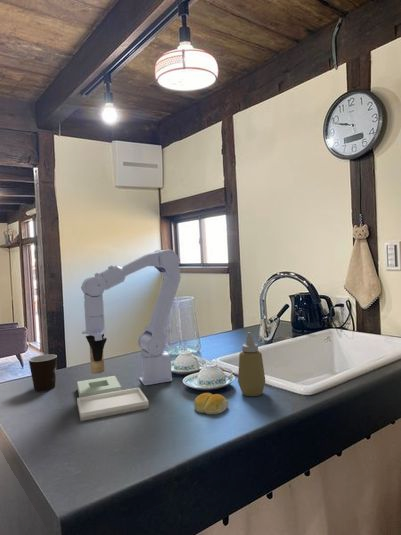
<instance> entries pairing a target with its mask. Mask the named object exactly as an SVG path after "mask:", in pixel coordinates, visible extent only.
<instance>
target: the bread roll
mask: <svg viewBox="0 0 401 535" xmlns="http://www.w3.org/2000/svg"><path fill="white" fill-rule="evenodd" d="M193 406H194V409H195V411H197V412H198V413H203V414H207V415H218V414H221V413H223V412H224V411H226V410H227V409H228V407H229V402H228V400H227V398H226V397H225V396H223V395H221V394H219V393H215V394H213V393H211V392H203V393H201V394H199V395H198V396H196V398H195V399H194V402H193Z"/></svg>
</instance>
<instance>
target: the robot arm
mask: <svg viewBox="0 0 401 535" xmlns="http://www.w3.org/2000/svg"><path fill="white" fill-rule="evenodd" d="M180 261H181V260H180V257H179V256H178V255H177V253H176V252H175V250H173V249H169V248H168V249H163V250H161V249H157V250H154V251H152V252H148V253H146V254H144V255H142V256H140V257H138V258H135V259H134V260H132V261H130V262H129V263H126V264H124V265H123V266H119V265H110V266H108V267H107V268H108V269H105V270H104V271H101V272H99V273H98V272H95V273H94V276H92V277H91V276H90V277H87V278H85V279H84V280H83V282H82V283H81V284H82V285H81V286H80V289H81V291H82V293H83V294H84V295H83V296H84V297H83V299H84V302H83V303H84V305H83V306H84V320H85V329H84V330H82V331H81V334H82V335H85V338H86V341H87V342H88V344H89V347H90V346H91V349H92V354H93V358H94V361H95V362H96V361H102V356H103V354H104V350H105V349H104V348H105V346H106V342H107V340H108V339H107V337H104V336H105V333H106V331H107V330H106V324H105V310H104V309H105V308H104V296H103V294H104V292H105V291H108V290H110V289H111V288H114V287H116V286H118V285H119V284H121V283H123V282H125V280H126V277H128V276H129V275H130V274H134V273H136V272H138V271H140V270H142V269H144V268H147V267H154V268H155V269H156V270H157V271H158V272H159V273H160V276H161V277H162V279H163V282H162V285H161V287H160V290H159V294H158V297H157V298H156V299H157V300H156V302H155V304H154V305H155V306H154V309H153V312H152V315H151V318H150V321H149V323H148V324H147V325H146V327H145V328H144V331H143V332H142V334H141V335H140V336H139V338H138V340H137V341H138V342H137V343H138V344H137V345H138V346H139V348H140V349H141V354H140V358H141V373H142V376H140V377H139V378H138V379H139V381H140V382H141V383H142V384H143V385H144V386H149V385H151V386H152V385H156V384H161V383H162V384H163V383H167V382H173V378H172V361H171V355H170V353H169V352H167V351H166V352H164V351H165V349H166V337H167V333H166V325H167V322H168V318H169V315H170V312H171V310H172V307H173V303H174V301H175V297H176V293H177V291H178V288H179V284H180V283H181V282H180V281H181V279H182V278H181V277H182V276H181V271H180Z"/></svg>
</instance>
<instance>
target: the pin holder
mask: <svg viewBox="0 0 401 535" xmlns="http://www.w3.org/2000/svg"><path fill="white" fill-rule="evenodd" d="M76 384H77V393H78V396H79V397H78V398H80V397H86V396H92V395H98V394H104V393H109V392H115V391H121V390H122V385H121V383H120V381H118V378H117V377H116V375H112V376H103V377H98V378H92V379H85V380H80V381H79V380H78V381H77V383H76Z"/></svg>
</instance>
